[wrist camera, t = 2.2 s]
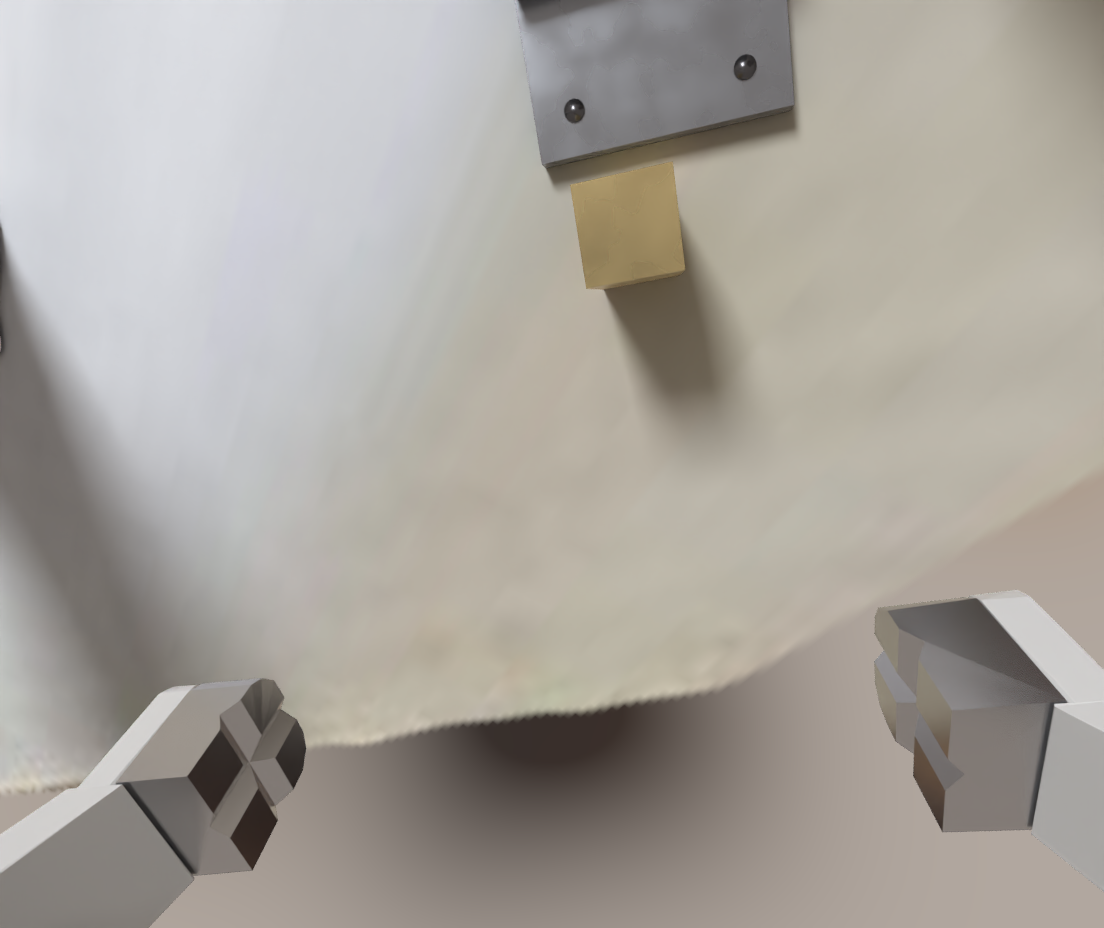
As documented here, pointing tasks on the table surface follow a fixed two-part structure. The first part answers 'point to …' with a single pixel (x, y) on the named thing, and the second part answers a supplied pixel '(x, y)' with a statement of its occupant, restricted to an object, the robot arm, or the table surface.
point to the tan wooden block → (629, 227)
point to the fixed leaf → (650, 70)
